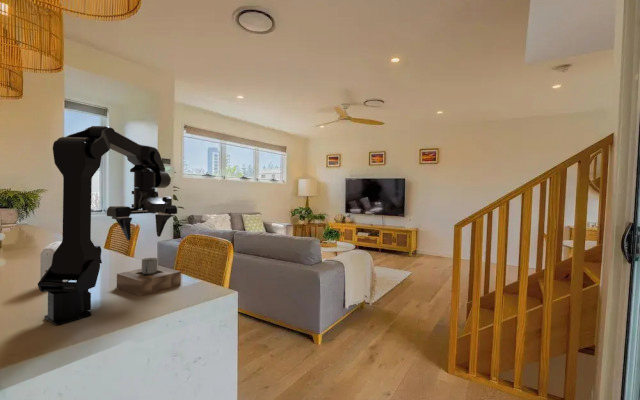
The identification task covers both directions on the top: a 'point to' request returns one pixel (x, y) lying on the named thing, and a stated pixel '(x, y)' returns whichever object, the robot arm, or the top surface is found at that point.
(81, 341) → the top surface
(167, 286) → the socket block
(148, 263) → the grey metal cylinder
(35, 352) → the top surface
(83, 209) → the robot arm
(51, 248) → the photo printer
